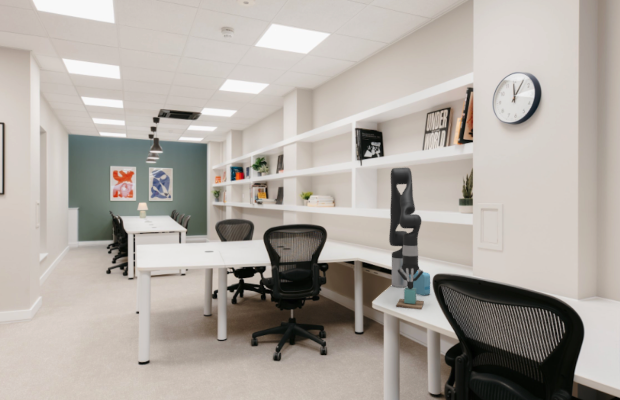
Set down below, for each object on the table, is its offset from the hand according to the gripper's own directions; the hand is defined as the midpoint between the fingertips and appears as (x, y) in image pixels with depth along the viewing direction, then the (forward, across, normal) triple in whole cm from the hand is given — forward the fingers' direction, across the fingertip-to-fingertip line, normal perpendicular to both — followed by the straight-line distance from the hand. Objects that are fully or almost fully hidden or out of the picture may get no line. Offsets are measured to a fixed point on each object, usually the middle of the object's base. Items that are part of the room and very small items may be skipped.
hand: (410, 288), depth 189 cm
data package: (+8, -2, -25) cm, 26 cm away
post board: (+8, 0, 0) cm, 8 cm away
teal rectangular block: (+7, 0, 0) cm, 7 cm away
